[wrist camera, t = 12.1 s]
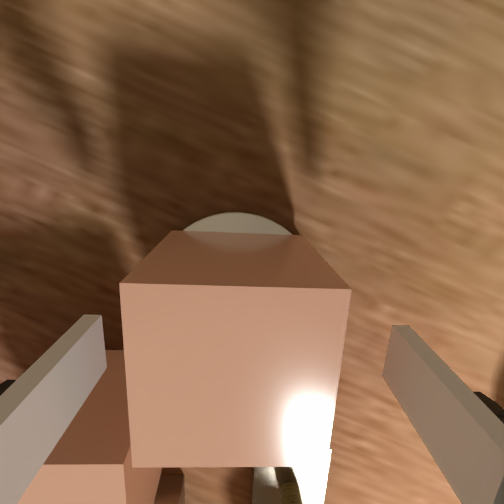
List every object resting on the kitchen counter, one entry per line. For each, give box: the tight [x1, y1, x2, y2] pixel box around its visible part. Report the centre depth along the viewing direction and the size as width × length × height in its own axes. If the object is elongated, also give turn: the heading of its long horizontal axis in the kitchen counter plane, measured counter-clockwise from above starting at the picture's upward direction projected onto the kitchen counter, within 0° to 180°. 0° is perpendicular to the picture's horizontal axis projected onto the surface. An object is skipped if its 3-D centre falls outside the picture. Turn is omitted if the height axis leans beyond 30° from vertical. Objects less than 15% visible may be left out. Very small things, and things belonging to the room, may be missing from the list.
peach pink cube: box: [119, 230, 352, 468], centre depth 16 cm, size 8×8×9 cm
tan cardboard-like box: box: [17, 350, 163, 504], centre depth 19 cm, size 8×8×9 cm
